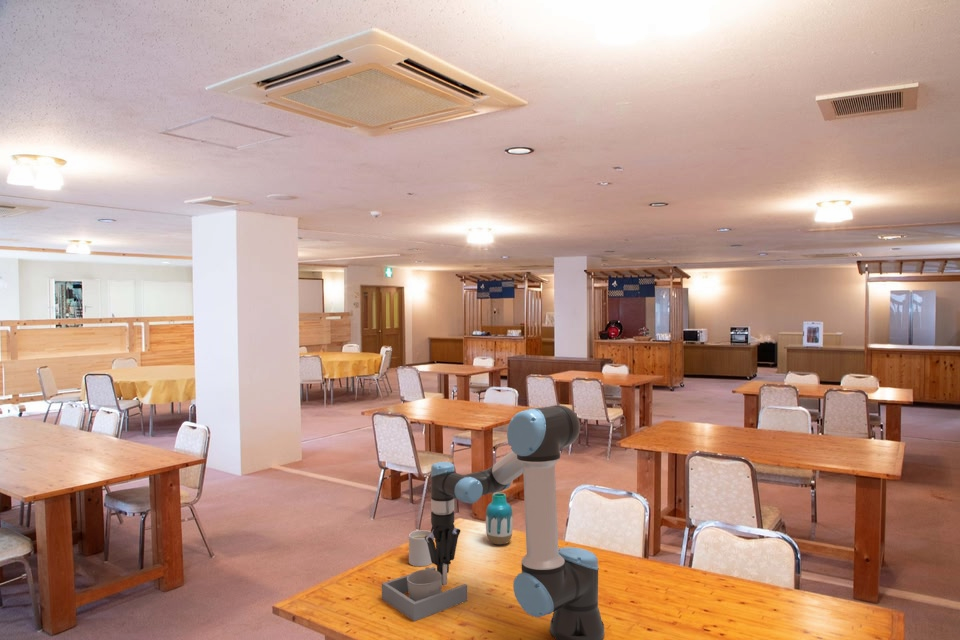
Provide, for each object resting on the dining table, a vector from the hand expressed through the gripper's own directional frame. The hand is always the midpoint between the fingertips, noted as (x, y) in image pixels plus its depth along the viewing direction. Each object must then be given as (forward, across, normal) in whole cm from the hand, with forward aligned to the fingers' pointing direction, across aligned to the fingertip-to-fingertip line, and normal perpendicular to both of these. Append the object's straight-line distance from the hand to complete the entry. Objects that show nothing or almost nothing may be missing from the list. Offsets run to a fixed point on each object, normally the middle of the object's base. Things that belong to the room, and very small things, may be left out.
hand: (442, 583), depth 200 cm
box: (+3, +7, 0) cm, 8 cm away
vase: (+4, -42, -21) cm, 48 cm away
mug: (+3, -10, -25) cm, 27 cm away
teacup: (+3, +6, 0) cm, 7 cm away
